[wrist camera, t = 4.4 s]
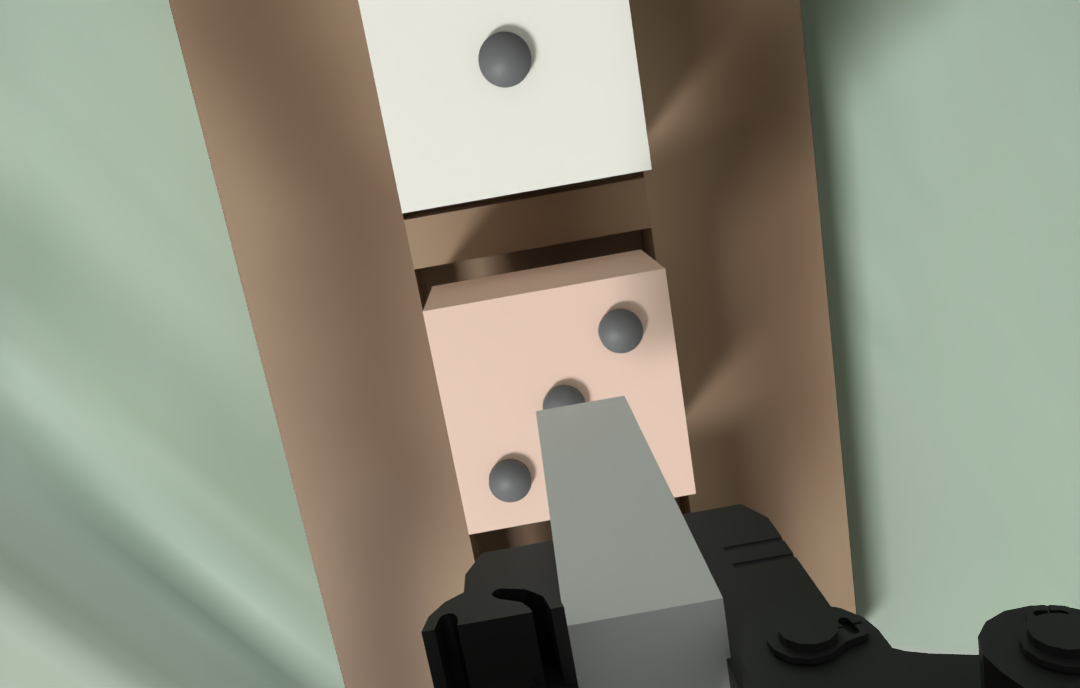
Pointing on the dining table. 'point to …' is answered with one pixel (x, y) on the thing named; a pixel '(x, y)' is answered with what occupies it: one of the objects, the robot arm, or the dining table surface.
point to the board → (503, 247)
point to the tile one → (504, 95)
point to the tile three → (552, 373)
